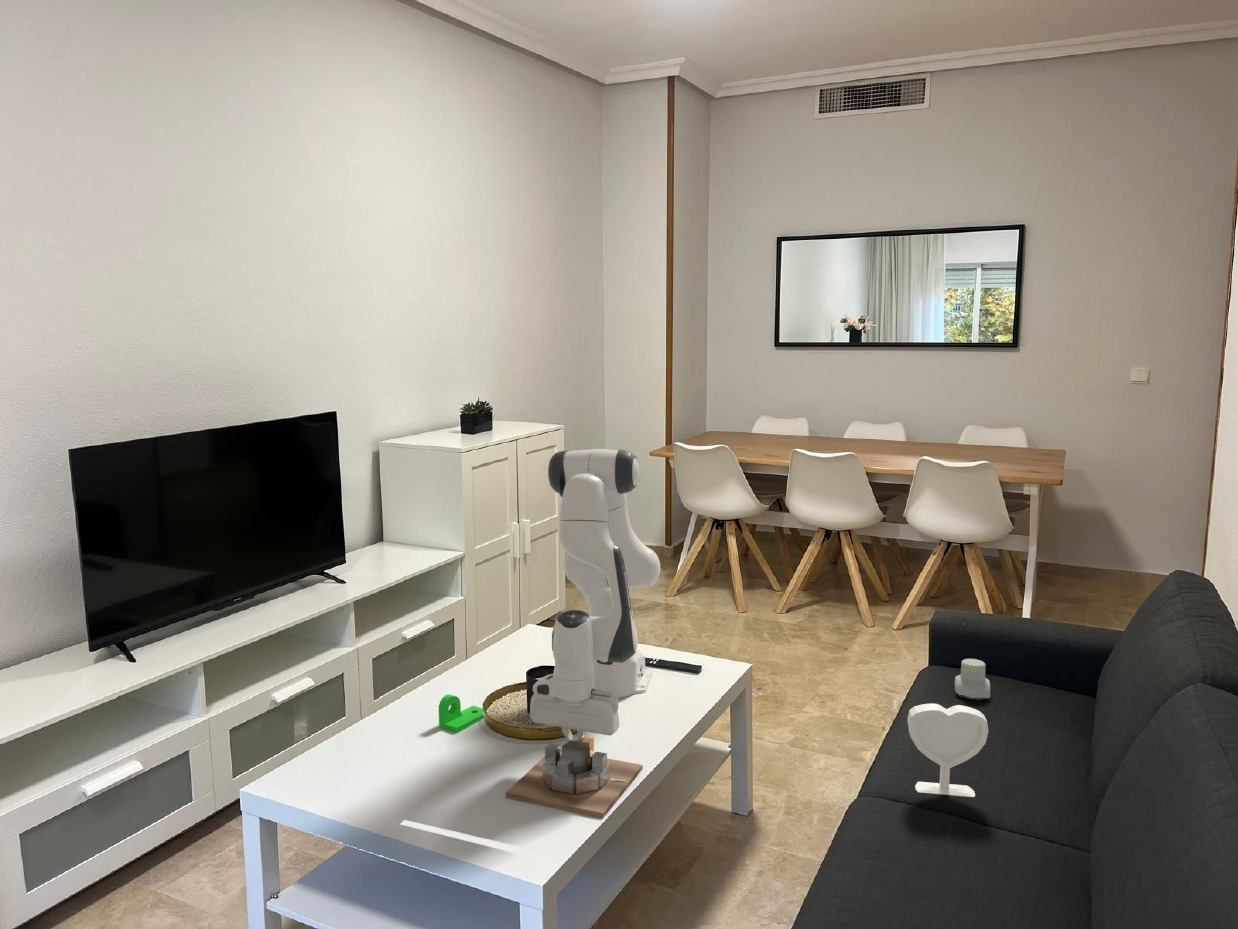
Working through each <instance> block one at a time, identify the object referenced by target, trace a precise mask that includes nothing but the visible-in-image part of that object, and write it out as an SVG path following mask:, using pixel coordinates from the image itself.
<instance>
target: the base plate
mask: <svg viewBox="0 0 1238 929" xmlns="http://www.w3.org/2000/svg"><path fill="white" fill-rule="evenodd" d="M560 752H562V758H563V759H568V760H572V764H573V774H579V773H584V772H589V771H591V770H590V746H589V744H587V743H585V742H580V741H573V742H568V743H567V742H566V743H564V744H563V745H562V746H561V749H560ZM607 760H608V762H609V763H610V778H609V779H608V780H607V781H606V783H605V784H604V785H603V786H602V787H601V788H598V789H597V790H592V791H588V792H583V793H578V794H576V792H574V793H573V794H571V793H566V792H562V791H557V790H552V788H549V787H548V785H547V784H546V782H545V781H544V779H543V772H542V765H543V763H544V762H545V755H544V756H543V757H542V758H541V759H540V760H539V761H538V762H537V763H536V764H534V765H533V766H532V768H531V769H529V770H528V771H527V772H526V773H524V775H523V776H522V777H520V779H518V781H516V783H515V784H513V786H511V787H510V788H509V789H508V790H507V791H506V792H505V798H508V799H512V800H517V801H521V802H526V803H531V804H536V805H540V806H541V805H542V806H545V807H551V808H554V809H561V810H564V811H570V812H575V813H579V814H584V815H589V816H593V817H598V818H602V819H604V817H605V816H606V815H607V814H608V813H609V812H610V811H611V809H612V808H613V807H614V806H615V804H616V803H617V802H618V800H620V798H621V797H622V796H623V794H624V793H625V792H626V791H627V790H628V788H629V786H630V785H631V784H632V783H634V782H633V781H635V779H636V778H637V777H638V776H639V775H640V773H641V772H642V770H643V768H644V766H643V764H639V763H634V762H630V761H624V760H623V761H622V760H617V759H611V758H608V757H607Z"/></svg>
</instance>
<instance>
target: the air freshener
mask: <svg viewBox="0 0 1238 929" xmlns="http://www.w3.org/2000/svg"><path fill="white" fill-rule="evenodd" d="M960 665H961V667H960V674H958V675H956V676H955V677H954V692H955V691H956V693H958V694H959V695H964V696H967V697H970V698H991V683H990V682H991V681H990V679H988V678H987V677H986V663H985V662H984V661H982V660H979V659H977V658H965V659H962V661H961V664H960Z"/></svg>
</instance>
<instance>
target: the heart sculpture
mask: <svg viewBox="0 0 1238 929" xmlns="http://www.w3.org/2000/svg"><path fill="white" fill-rule="evenodd" d="M906 721H907V725H908V733H909V736H910V739H911V740H912V742H913V744H914V745H915V748H917V750H918V751H920V753H921V754H923V755H924V756H925V757H926V758H928V759H929V760H930V761H932V762H934V763H936V765H938V766H939V783H938V782H928V781H927V782H926V781H917V782H916V784H915V786H914V787H915V790H916V791H917V793H922V794H923V793H925V794H936V795H945V796H946V795H947V796H955V797H958V796H959V797H968V798H969V797H971V798H975V797H976V793H975V790H974V789H973V788H972V787H970V786H968V785H963V784H951V783H950V776H951V768H954V767H955V766H959V765H960V764H962V763H965V762H968V760H970V759H972V758H973V757H974V756H976V755H977V754H978V753H979V752H980V751H981V750H982V749H983V747H984V746H985V744H986V743H987V739H988V735H989V726H988V724H989V723H988V721H987V719H986V716H985V714H983V713H982V712H981V711H980V710H978V709H976V708H972V707H970V706H966V705H960V704H956V705H952V706H951V707H948V708H945V707H943V706H942V705H940V704H938V703H923V704H919V705H915V706H912V707H911V708H910V709H909V710H908V715H907V720H906Z"/></svg>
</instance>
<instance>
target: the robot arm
mask: <svg viewBox="0 0 1238 929" xmlns="http://www.w3.org/2000/svg"><path fill="white" fill-rule="evenodd" d="M547 477H548V482H549V485H550V487H551V489H552V490H553V491H554V492H555V493H557V494H559V495H560V498H561V502H560V512H559V539H560V545H561V547H562V549H563V550H564V551H565V552H566V554H565V556H564V559H563V570H564V574H565V575H566V578H567V579H568V580H569V581H570V582H571V583H573V585H575V586H576V587H577V589H579V590H580V592H581V593H582V595H583V596H584V598H585V601H586V602H587V606H588V608H589V614H588V613H587V612H586V611H583V610H581V609H580V610H579V609H571V610H570V609H569V610H565V611H563V612H561V613H559V614H558V615H557V616H556V619H555V622H554V627H553V629H552V632H551V633H552V634H551V651H552V655H553V658H554V669H553V673H551V674H550V673H549V674H546V675H545V676H543V677H541V678H540V679H539V680H537V681H536V682H535V683H534V684H533V686H532V692H533V695H532V696H531V698H530V704H529V705H530V707H529V708H530V709H529V718H530V719H531V721H532V722H533V723H536V724H541V725H547V726H553V727H560V728H561V731H562V734H563V736H564V738H565V739H566V743H568V742H573V741H580V740H581V739H582V738H583V737H585V736H586V734H587V732H588V733H592V734H598V735H604V736H609V737H610V736H612V735H614V734H615V733H616V732H617V731H618V730H619V727H620V717H619V711H618V710H619V698H625V697H628V696H632V695H637V694H644V693H647V689H648V687H649V684H650V682H651V680H652V677H653V674H654V670H652V669H650V668H648V667H646V658H645V655H644V653H643V652H641V651H640V650H638V649H637V647H638V644H639V643H638V642H639V641H638V638H639V633H638V632H637V629H636V625H635V622H634V612H633V609H632V604H631V598H630V591H629V589H632V590H634V589H642V588H650V587H653V585H655V583H657V581H658V579H659V578H660V573H661V569H662V568H661V561H660V559H659V557H658V554H657V553H656V552H655V551H654V550H653V549H651V548H650V547H648V546H647V545H645V543H643V542H642V541H641V540H640V539H639V537H638V536H637V534H636V533H635V532H634V530H633V528H632V527H633V526H632V524H631V520H630V515H629V510H628V509H629V508H628V499H627V493H630V492H632V491H633V490H634V489H635V488H636V487H637V484H638V481H639V479H640V465H639V461H638V459H637V456H636V455H635V454H634V453H633V452H632V451H629V450H625V449H618V450H616V449H609V448H592V449H577V450H570V451H569V450H568V449H567V450H560V451H558V452H555V453H554V454H553V455H552V456H551V457H550V459H549V463H548V467H547ZM571 730H574V731H575V730H576V731H577V735H578V737H577V736H574V735H573V732H572V731H571Z"/></svg>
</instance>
